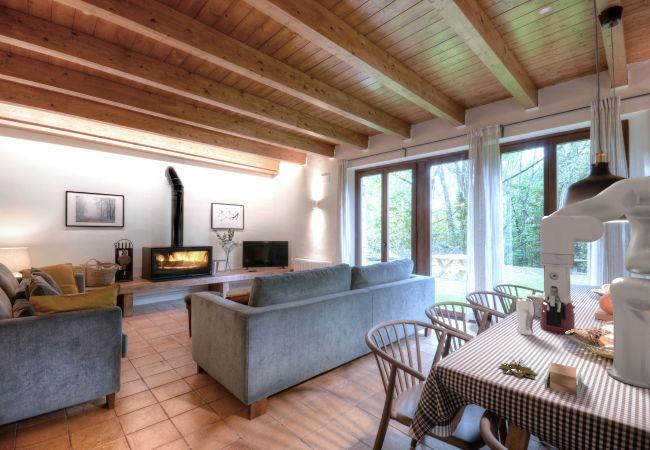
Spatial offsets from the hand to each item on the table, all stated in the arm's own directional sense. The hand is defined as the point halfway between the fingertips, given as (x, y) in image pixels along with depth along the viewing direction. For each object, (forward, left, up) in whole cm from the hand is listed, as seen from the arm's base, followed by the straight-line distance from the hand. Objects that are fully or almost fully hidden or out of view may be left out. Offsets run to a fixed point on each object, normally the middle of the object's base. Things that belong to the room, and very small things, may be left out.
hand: (556, 322), depth 84 cm
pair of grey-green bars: (-1, -10, -21) cm, 23 cm away
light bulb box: (+16, -95, -21) cm, 99 cm away
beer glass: (+16, -56, -21) cm, 62 cm away
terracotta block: (-1, -9, -21) cm, 23 cm away
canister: (+6, -72, -21) cm, 76 cm away
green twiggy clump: (+11, -11, -21) cm, 26 cm away
